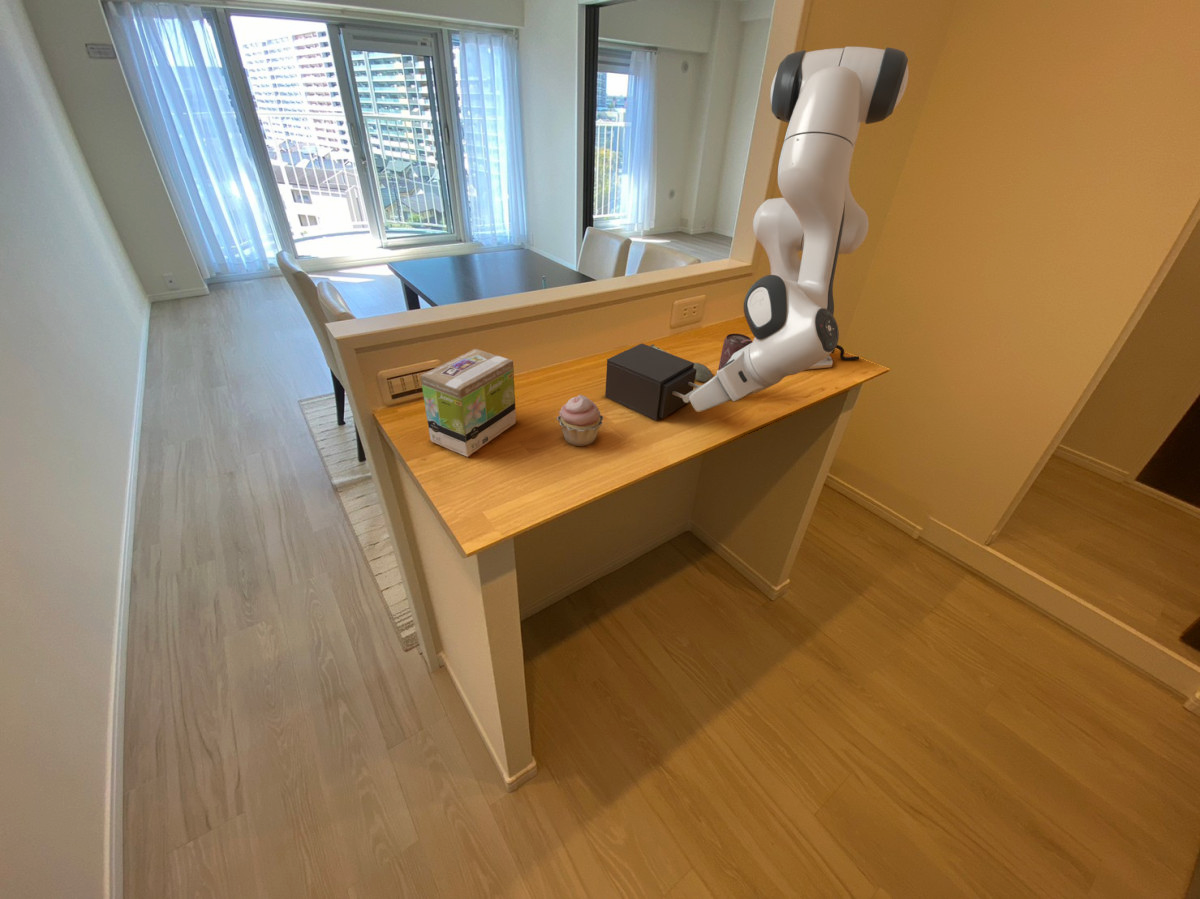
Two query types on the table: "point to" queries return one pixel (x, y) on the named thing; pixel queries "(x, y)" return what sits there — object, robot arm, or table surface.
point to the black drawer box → (642, 378)
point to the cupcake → (580, 421)
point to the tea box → (469, 400)
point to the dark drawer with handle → (677, 392)
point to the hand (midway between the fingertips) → (700, 397)
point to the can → (732, 347)
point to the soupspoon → (698, 370)
